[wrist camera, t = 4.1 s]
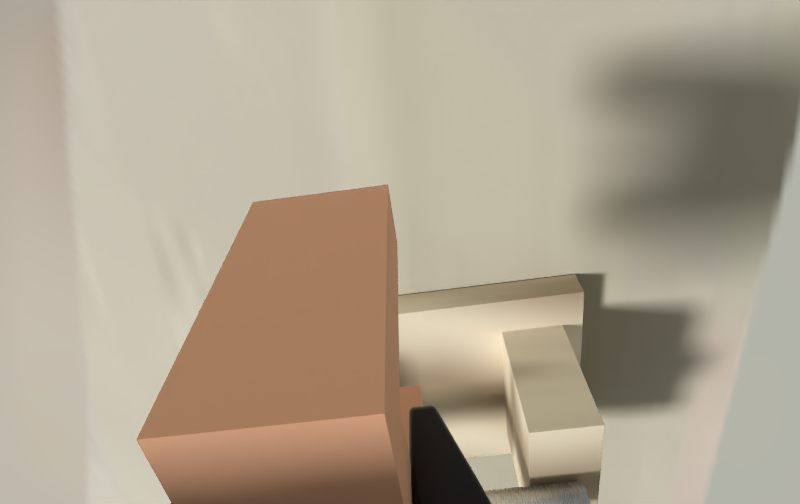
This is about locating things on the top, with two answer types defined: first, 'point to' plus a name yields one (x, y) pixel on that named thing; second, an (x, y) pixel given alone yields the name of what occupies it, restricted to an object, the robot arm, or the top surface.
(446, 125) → the top surface
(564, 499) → the silver metal cylindrical rod
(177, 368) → the pink block
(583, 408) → the cream rod stand
